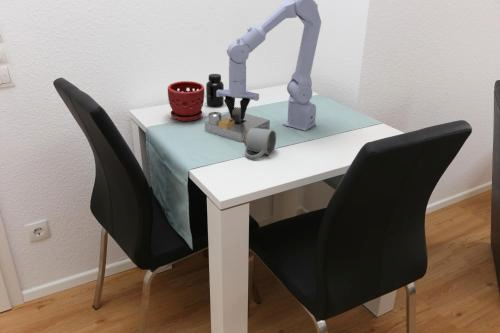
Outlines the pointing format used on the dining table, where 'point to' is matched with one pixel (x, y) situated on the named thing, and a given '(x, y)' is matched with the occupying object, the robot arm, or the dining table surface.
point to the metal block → (237, 115)
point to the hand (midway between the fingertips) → (237, 118)
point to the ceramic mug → (260, 142)
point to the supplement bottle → (214, 91)
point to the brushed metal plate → (234, 125)
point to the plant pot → (186, 100)
